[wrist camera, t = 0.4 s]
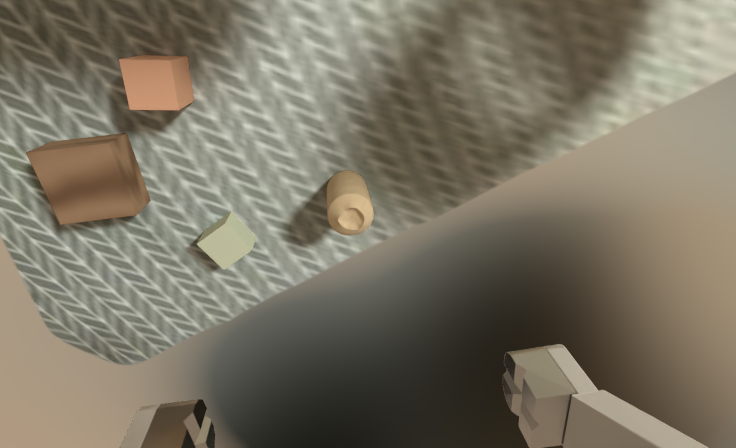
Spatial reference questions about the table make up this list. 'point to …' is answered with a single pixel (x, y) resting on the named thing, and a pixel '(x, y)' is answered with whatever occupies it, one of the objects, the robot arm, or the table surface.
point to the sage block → (227, 240)
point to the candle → (348, 203)
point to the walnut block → (90, 178)
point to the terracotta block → (157, 82)
